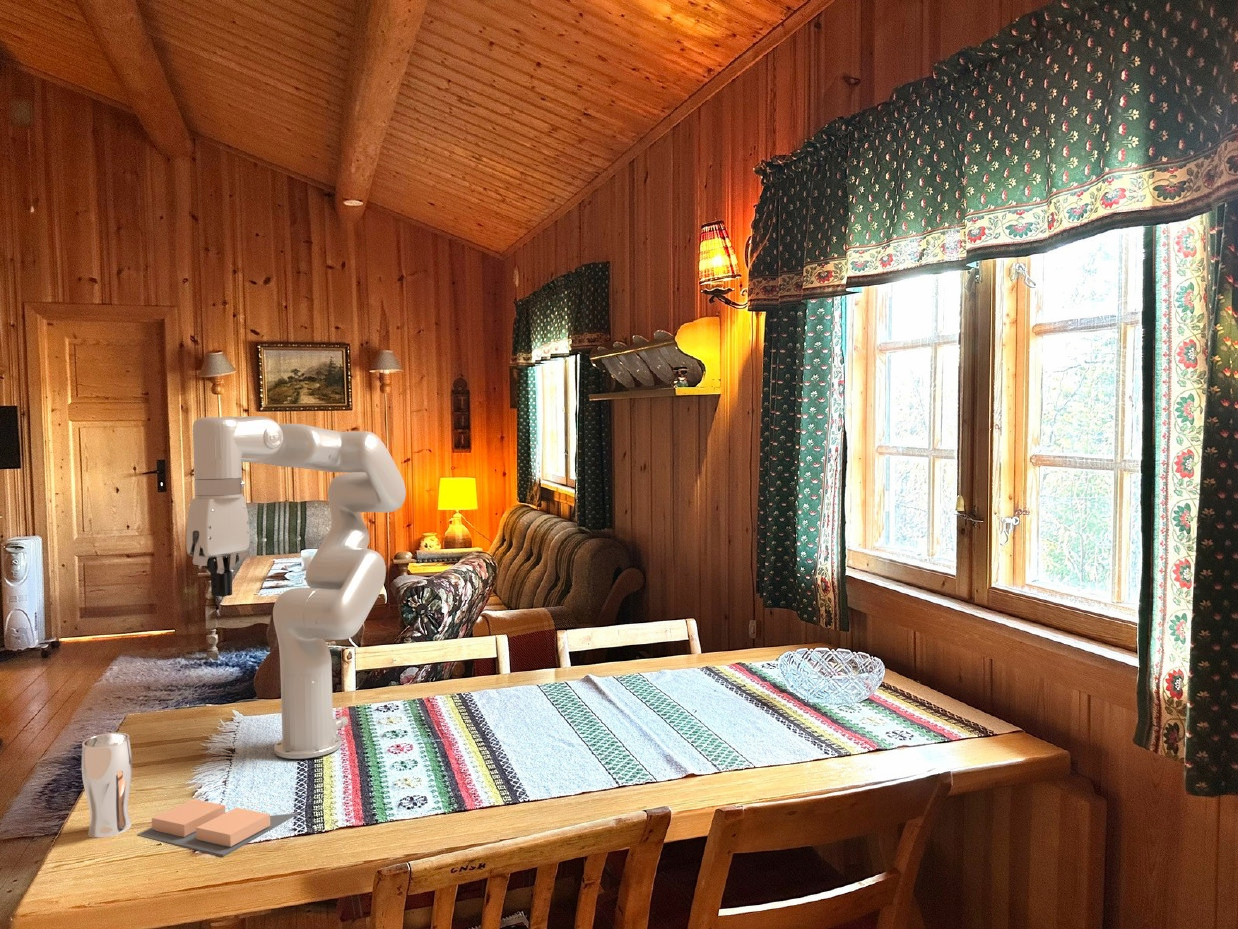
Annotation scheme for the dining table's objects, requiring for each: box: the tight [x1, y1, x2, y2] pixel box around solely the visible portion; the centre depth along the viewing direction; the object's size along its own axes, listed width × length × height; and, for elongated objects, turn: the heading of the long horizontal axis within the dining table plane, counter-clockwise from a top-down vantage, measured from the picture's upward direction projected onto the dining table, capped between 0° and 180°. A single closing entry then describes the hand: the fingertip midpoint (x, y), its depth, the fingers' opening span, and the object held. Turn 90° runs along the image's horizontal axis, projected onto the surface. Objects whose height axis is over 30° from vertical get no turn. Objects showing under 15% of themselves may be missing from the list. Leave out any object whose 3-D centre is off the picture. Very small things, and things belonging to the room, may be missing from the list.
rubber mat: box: [137, 812, 300, 858], centre depth 149 cm, size 18×18×1 cm
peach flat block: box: [196, 807, 271, 847], centre depth 144 cm, size 2×7×8 cm
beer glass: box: [81, 731, 133, 838], centre depth 146 cm, size 7×7×15 cm
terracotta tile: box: [151, 798, 226, 837], centre depth 148 cm, size 2×7×8 cm
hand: (221, 595), depth 159 cm, fingers closed
